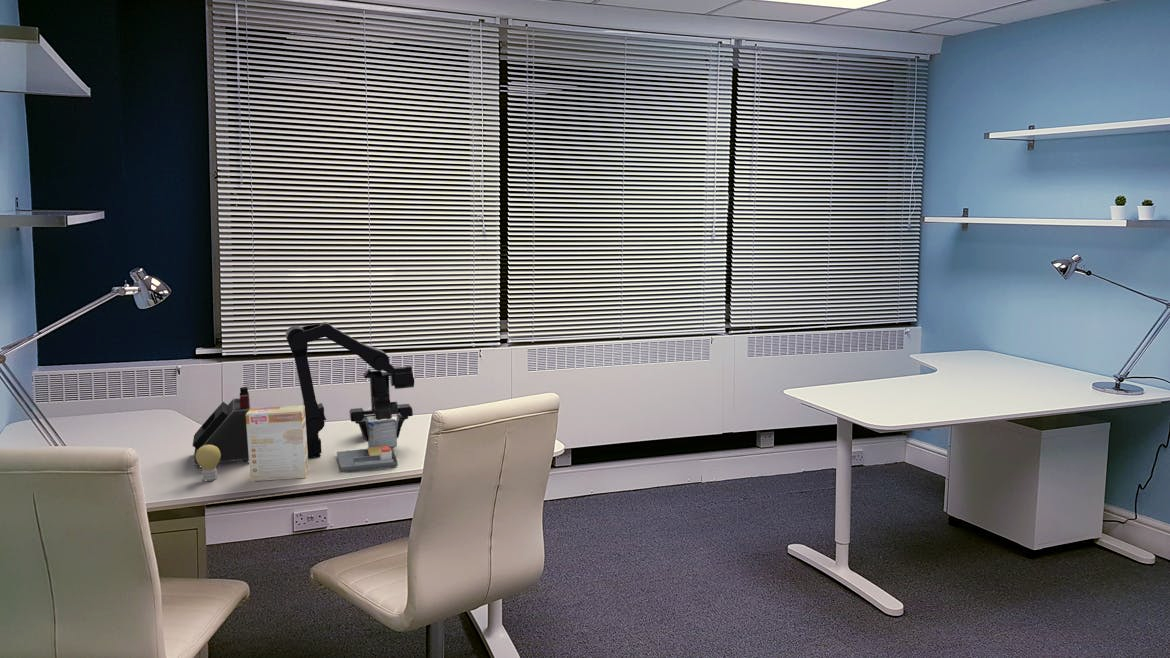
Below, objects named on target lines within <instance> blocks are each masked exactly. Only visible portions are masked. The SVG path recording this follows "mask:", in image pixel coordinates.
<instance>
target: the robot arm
mask: <svg viewBox="0 0 1170 658" xmlns="http://www.w3.org/2000/svg"><path fill="white" fill-rule="evenodd" d="M323 338H325V339H329V340H330V341H332V342H333V343H336V345H338V346H340V347H343V348H344V349H346V350H347V351H349V352H351V353H353V354H354V355H356V356H358V357H359V358H360V359H362V360H363V361H364V362H365V364H368V365H369V366H370V367H371V368H372V369H373V370H370V369H369V368H367V370H366V371H365V372H364V373H363V374H362V376H363V377H364V379H369V386H370V387H369V388H370V390H369V391H370V404H371V405H370V406H371V410H368V411H364V409H363V407H357V408H356V407H355V408H350V409H349V413H348V414H349V415H348V416H349V420H350V421H351V422H352V423H353V422H355V424H357V425H359V424H360V426H361V428H362V430H363V432H364V435H365V437H366V438H365V439H366V442H368V433H367V428H366V422H365V419H364V417H370V416H375V418H376V419H377V420H381V419H391V418H392V416H393V415H396V419H395V420H396V428H397V439H398V438H399V436H400V432H401V431H402V426H403V423H404V422H405V421H406V420H408V419H409V417H413V416H414V412H413V407H412V406H411V404H409V403H402V404H398V402H397V401H391V396H390V395H391V392H390V386H391V387H394V389H395V390H401V389H402V390H403V389H410V388H412V389H413V388H414V386H415V377H414V373H413V367H412V366H411V365H406V366H399V367H394V365H393V364H391V363H390V357H389V356H388V354H387V353H386V352H385V351H383V350H382V349H380V348H377V347H374V346H373V345H372V346H371V345H368V344H364V343H362V342H361V341H359V340H357V339H355V338H353V337H351V336H350V335H348V334H347V333H345V332H343V331H341V330H340V329H338V328H336V327H335V326H333V325H331V324H330V323H329V322H327V321H323V322H320V323H315V324H308V325H303V326H300V325H292V326H290V327H288V328H287V329H286V331H285V339H286V341H287V343H288V345H289V349H290V351H291V353H292V355H293V359H294V364H295V367H296V373H297V377H298V382H299V387H300V392H301V396H302V406H303V405H304V406H305V418H306V435H307V451H308V459H314V458H320V457H321V454H322V439H321V438H320V437H319V436H320V435H319V434H320V432H321V431H322V430H323V428H324V427H325V426H326V424H325V421H327V417H326V415H325V407H324V404H323V403H322V402H320V403H318V402H317V399H316V393H315V389H314V383H313V379H312V375H311V368H310V365H309V360H308V348H309V346H308V344H309V343H310V342H311V343H312V342H313V341H317V340H319V339H323ZM382 371H384V372H382ZM392 419H393V418H392ZM360 426H359V427H360Z"/></svg>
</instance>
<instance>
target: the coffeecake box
mask: <svg viewBox="0 0 1170 658" xmlns="http://www.w3.org/2000/svg"><path fill="white" fill-rule="evenodd" d="M246 426H247V440H248V454H249V462H248V464H249V465H248V466H249V477H250V482H258V481H259V482H260V481H275V480H276V481H277V480H280V481H281V480H293V479H294V480H295V479H296V480H297V479H306V478H307V475H308V474H309V472H310V471H309V458H308V451H307V435H306V418H305V406H304V405H303V404H302V405H287V406H269V407H267V406H264V407H251V408H250V409H249V411H248V412H247V413H246Z"/></svg>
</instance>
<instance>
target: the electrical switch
mask: <svg viewBox="0 0 1170 658" xmlns="http://www.w3.org/2000/svg"><path fill="white" fill-rule="evenodd" d="M368 410H371V405H370V406H369V407H368V408H367V409H365V410H364V409H363V411H368ZM364 419H365V422H366V428H367V422H368V421H373V420H377V419H376V418H375V416H370V417H364ZM358 427H359V429H360V432H361V435H362V438H363V439H366V437H365V435H364V432H363V430H362V428H361V426H360V424H358ZM367 433H368V430H367Z"/></svg>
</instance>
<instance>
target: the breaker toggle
mask: <svg viewBox="0 0 1170 658" xmlns="http://www.w3.org/2000/svg"><path fill="white" fill-rule="evenodd" d="M391 449H392V448H391ZM391 449H390V447H389V446H384V447H381V449H380V460H386V459H392V452H391Z"/></svg>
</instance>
